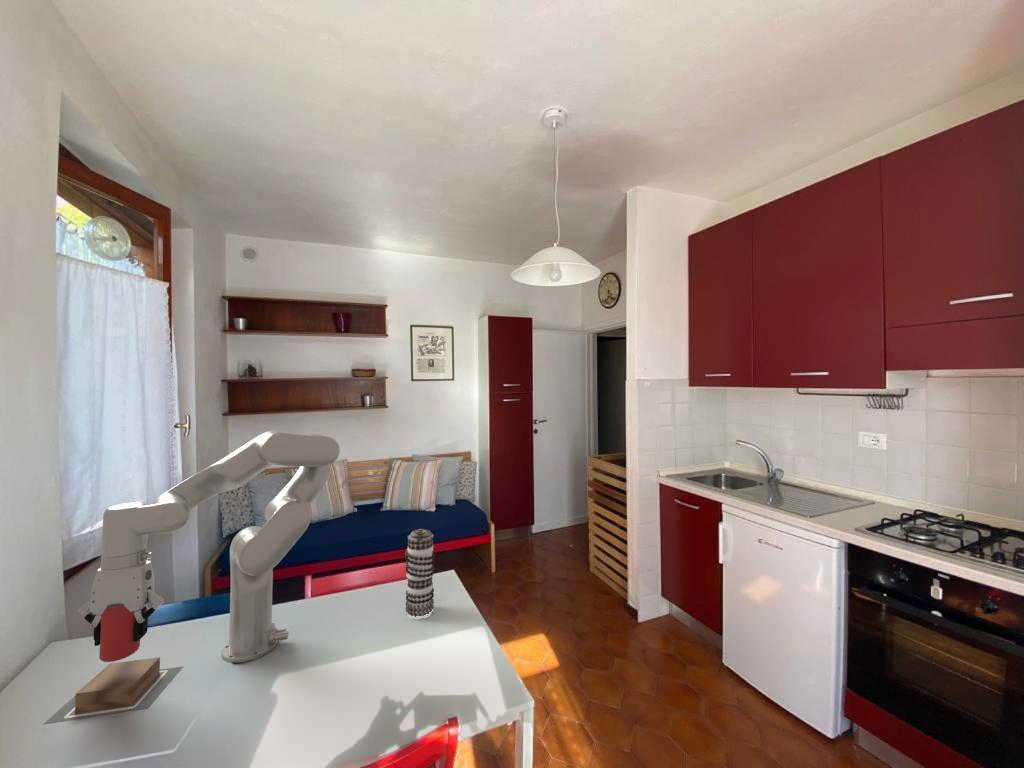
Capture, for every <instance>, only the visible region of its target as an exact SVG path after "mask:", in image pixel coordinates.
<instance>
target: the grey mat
mask: <svg viewBox="0 0 1024 768" xmlns="http://www.w3.org/2000/svg"><path fill="white" fill-rule="evenodd" d="M183 668H184V666H175V667H170V668H161V669H160V674H159V676H158V677H157V678H156V679H155V680H154V681H153V682H152V683H151V684H150V685H149V686H148V688H147V689H146V690H145V691H144V692H143V693H142V694H141V695H140V696H139V697H138V699H137V700H136V701H135V702H134V703H133V704H132V705H127V706H121V707H114V708H107V709H100V710H93V711H87V712H80V713H75V698H76V694H75V695H74V696H73V697H72V698H71V699H69V700H68V701H67V702H66V703H65V704H64V705H63V706H62V707H60V708H59V709H58V710H57V711H56V712H55V713H54V714H53V715H51V716H50V717H49V718H48V719H47V720H46V721H45V722H44V723H43V725H48V724H49V725H50V724H55V723H62V722H68V721H75V720H81V719H89V718H95V717H96V718H97V717H102V716H107V715H115V714H120V713H129V712H134V711H140V710H141V711H142V710H148V709H149V708H150V707H151V706H152V704H153V703H154V702H155V701H156V699H158V697H159V696H160V695H161V694H162V693H163V692H164V690H165V689H166V688H167V687H168V685H169V684H171V682H172V681H173V680H174V678H175V677H177V675H178V674H179V673H180V671H181V670H182V669H183Z"/></svg>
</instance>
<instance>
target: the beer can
mask: <svg viewBox="0 0 1024 768" xmlns="http://www.w3.org/2000/svg"><path fill="white" fill-rule="evenodd" d="M106 607H107V608H106V609H105V610H104V612H103V614H102V615H101V632H100V645H99V655H98V658H99V660H100V661H101V662H104V663H114V662H116V661H120V660H124V659H126V658H128V657H131V655H134V654H135V653H136V652H137V651H139V648H140V646H141V639H140V640H139V641H136V642H135V641H134V625H135V623H137V620H136V618H135V616H134V612H129V610H128V609H127V608H126V607H125V606H124V604H120V605H114V606H109V605H108V606H106Z"/></svg>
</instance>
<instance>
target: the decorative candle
mask: <svg viewBox="0 0 1024 768" xmlns="http://www.w3.org/2000/svg"><path fill="white" fill-rule="evenodd" d="M434 537H435V535H434V534H433V533H432V532H431V530H430V529H428V528H427V529H426V528H418V529H414V530H412V531H411V533H410V534H408V535H407V548H406V550H404V552H405V553H404V555H405V556H404V557H405V558H404V559H405V560H406V562H405V572H406V573H405V574H406V575H405V576H406V579H407V585H406V591H405V595H406V596H405V600H406V601H405V613H406V612H407V613H408V614H409V615H411V616H415V617H416V616H424V615H426V614H429V612H431V611H432V609H433V610H434V608H435V607H434V603H435V602H434V601H435V600H434V597H435V595H434V592H435V588H434V583H433V576H434V575H435V568H436V567H435V565H433V564H435V563H436V560H435V557H436V554H435V553H433V551H435V550H436V547H434V544H433V543H434V540H433V538H434Z"/></svg>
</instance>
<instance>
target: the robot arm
mask: <svg viewBox="0 0 1024 768" xmlns="http://www.w3.org/2000/svg"><path fill="white" fill-rule="evenodd" d="M340 449H341V448H340V445H339V443H338V442H337V441H336V440H335V438H332V437H331V436H326V435H322V434H318V433H317V434H316V433H312V434H308V435H307V434H306V435H305V434H295V433H289V432H283V431H280V430H268V431H266V432H263V433H261V434H259V435H258V436H256V437H255V438H253V439H252V440H249V441H248V442H247V443H246V444H244V445H242V446H240V447H239V448H238V449H236V450H235V451H233V452H231V453H230V454H228V455H226V456H225V457H223V458H221V459H220V460H219V461H216V462H214V463H213V464H211V465H209V466H207V467H206V468H204V469H202V470H201V471H199V472H197V473H194V474H193V475H191V476H190V477H188V478H186V479H185V480H183V481H181V482H180V483H178V484H176V485H174V486H173V487H172V488H170V489H168V490H167V491H165V492H163V493H162V494H161V495H159V496H158V497H157V498H155V499H154V501H152V503H151V504H146V503H144V502H140V501H139V502H135V501H133V502H125V503H118V504H114V505H111V506H108V507H107V508H106V509H105V510H104V511H103V517H102V532H101V533H102V534H101V557H100V568H98V569H97V571H96V573H95V577H94V581H93V584H92V588H91V595H90V599H89V600H88V601H86V602H85V603H84V604H83V605H81V607H79V608H78V609H77V613H78V614H80V615H81V617H83V618H84V620H85V621H86V622H88V623H89V624H90V627H91V628H93V637H92V638H93V641H94V647H98V646H100V632H101V615H102V614H103V612H104V610H105V609H106V608H107V607H106V606H108V605H109V606H114V605H120V604H124V606H125V607H126V608H127V609H128V610H129V612H134V616H135V618H136V620H137V623H135V625H134V641H135V642H136V641H139V640H140V641H141V639H142V638H143V637H144V636H145V635H146V634H147V633H148V628H149V627H148V625H149V624H148V623H149V617H151V615H152V614H154V612H156V610H158V609H159V608H160V607H161V606H162V605H163V604H164V603H165V601H166V600H165V599H164V597H162V596H161V595H159V594H158V593H156V591H155V589H156V587H155V575H154V569H153V565H152V562H151V560H149V559H152V558H153V556H154V553H153V552H150V551H148V549H149V548H148V547H147V546H148V535H163V534H171V533H175V532H178V531H180V530H182V529H183V528H184V527H186V525H187V524H188V523H189V521H190V519H191V516H192V515H191V511H192V510H193V509H195V508H197V507H198V506H199V505H201V504H202V503H204V502H206V501H207V500H209V499H210V498H211V499H212V497H215V496H216V495H219V494H222V493H225V492H229V491H233V490H236V489H239V488H241V487H242V486H244V485H245V484H247V483H248V482H249V481H251V480H252V479H254V478H255V477H256V476H258V475H260V474H261V473H262V472H264V471H265V470H267V469H269V468H270V467H271V466H272V465H275V466H283V467H286V466H287V467H298V469H297V471H296V472H295V474H294V475H293V477H292V478H291V479H290V480H289V481H288V483H287V484H286V485H285V486H284V487H283V488H281V490H280V491H279V493H278V494H277V495H276V496H275V497H274V498H273V499H272V500H271V501H269V502H268V504H267V505H266V508H265V510H264V518H265V520H266V522H265V523H264V524H263V526H259V525H251V526H247V527H245V528H243V529H241V530H239V532H237V533H236V534H235V535H234V537H233V539H232V541H231V544H230V545H229V564H230V568H229V569H230V595H229V599H230V600H229V601H230V602H229V635H228V637H229V638H228V642H227V644H225V645H224V646H223V648H222V650H221V659H222V660H224V661H226V662H227V663H228V662H229V663H232V664H237V663H244V662H249V661H253V660H255V659H258V658H261V657H262V656H264V655H266V654H268V653H269V652H271V651H272V650H273V649H275V647H276V646H277V644H278V641H284V640H288V638H289V630H287V627H281V628H277V627H276V622H273V584H274V580H273V578H274V572H273V571H274V568H275V567H276V566H277V565H278V564H279V563H280V562H281V561H282V560H283V558H284V557H285V556H286V555H287V554H288V553H289V551H290V550H291V549H292V548H293V546H294V545H295V544H296V543H297V542H298V541H299V539H300V538H301V537H302V536H303V535H304V533H305V532H306V531H307V529H308V527H309V526H310V523H311V521H312V515H313V514H312V509H311V506H310V505H311V504H312V503H313V501H314V500H315V498H316V497H317V496H318V495H319V493H320V492H321V491H322V489H323V488H324V486H326V485H325V484H326V483H327V481H328V478H329V474H330V468H331V466H330V465H332V464H334V463H335V462H336V461H337V460H338V458H339V456H340V453H341V450H340ZM148 603H149V604H150V603H152V605H151V606H150V607H149V606H148Z"/></svg>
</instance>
